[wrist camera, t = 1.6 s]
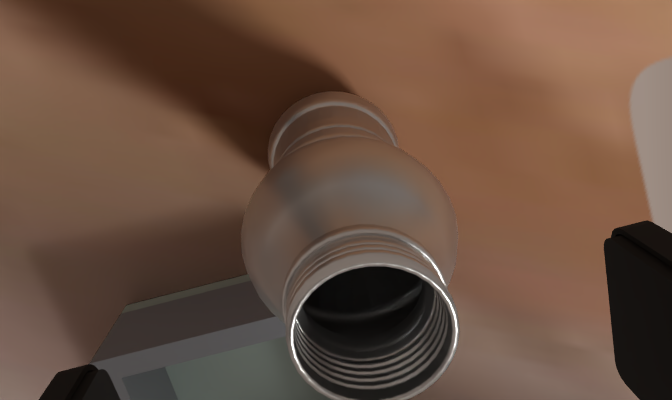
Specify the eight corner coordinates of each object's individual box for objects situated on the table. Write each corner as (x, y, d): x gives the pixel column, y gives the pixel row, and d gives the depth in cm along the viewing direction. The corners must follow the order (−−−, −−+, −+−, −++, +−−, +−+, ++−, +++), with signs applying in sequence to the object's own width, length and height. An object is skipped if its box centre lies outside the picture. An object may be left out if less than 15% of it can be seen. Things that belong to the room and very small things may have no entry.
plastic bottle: (382, 205, 32) (498, 470, 13) (264, 193, 31) (204, 452, 12) (399, 93, 30) (565, 208, 11) (275, 78, 29) (222, 172, 10)
